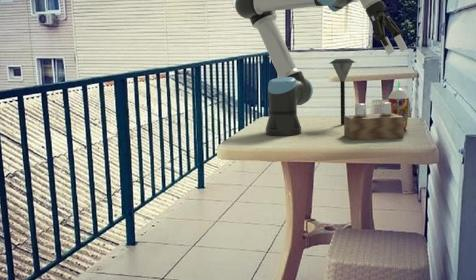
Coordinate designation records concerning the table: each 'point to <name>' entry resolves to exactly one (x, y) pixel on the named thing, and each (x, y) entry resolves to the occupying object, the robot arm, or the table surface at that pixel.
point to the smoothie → (399, 103)
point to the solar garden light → (342, 79)
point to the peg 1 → (360, 110)
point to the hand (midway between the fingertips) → (398, 51)
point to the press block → (374, 127)
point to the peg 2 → (385, 109)
